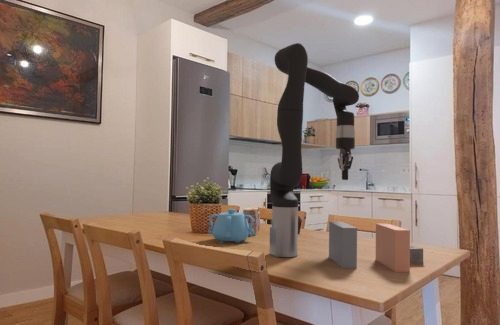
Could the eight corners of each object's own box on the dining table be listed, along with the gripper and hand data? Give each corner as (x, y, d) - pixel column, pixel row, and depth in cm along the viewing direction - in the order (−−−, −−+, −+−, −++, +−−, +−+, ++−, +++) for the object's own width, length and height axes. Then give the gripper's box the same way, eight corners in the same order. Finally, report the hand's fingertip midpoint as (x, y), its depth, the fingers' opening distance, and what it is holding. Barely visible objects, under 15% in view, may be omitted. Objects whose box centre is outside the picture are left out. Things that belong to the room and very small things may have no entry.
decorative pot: (238, 236, 168) (238, 206, 168) (257, 242, 154) (257, 209, 155) (205, 239, 159) (206, 208, 160) (222, 245, 145) (223, 211, 146)
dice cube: (414, 260, 127) (414, 245, 127) (423, 263, 122) (423, 248, 122) (400, 260, 126) (400, 245, 126) (409, 264, 121) (409, 248, 121)
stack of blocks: (248, 228, 192) (248, 205, 193) (259, 229, 192) (260, 205, 192) (242, 235, 171) (243, 209, 172) (255, 236, 170) (256, 209, 171)
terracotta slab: (409, 271, 111) (409, 230, 111) (395, 271, 110) (395, 230, 111) (388, 260, 126) (388, 223, 126) (375, 260, 125) (375, 223, 126)
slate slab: (356, 268, 114) (357, 228, 114) (342, 268, 113) (342, 227, 114) (341, 257, 129) (341, 221, 129) (328, 257, 128) (329, 221, 129)
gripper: (360, 135, 143) (359, 180, 143) (348, 139, 156) (348, 179, 156) (341, 135, 143) (340, 180, 142) (331, 138, 156) (331, 179, 155)
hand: (344, 179), depth 149 cm, fingers closed
